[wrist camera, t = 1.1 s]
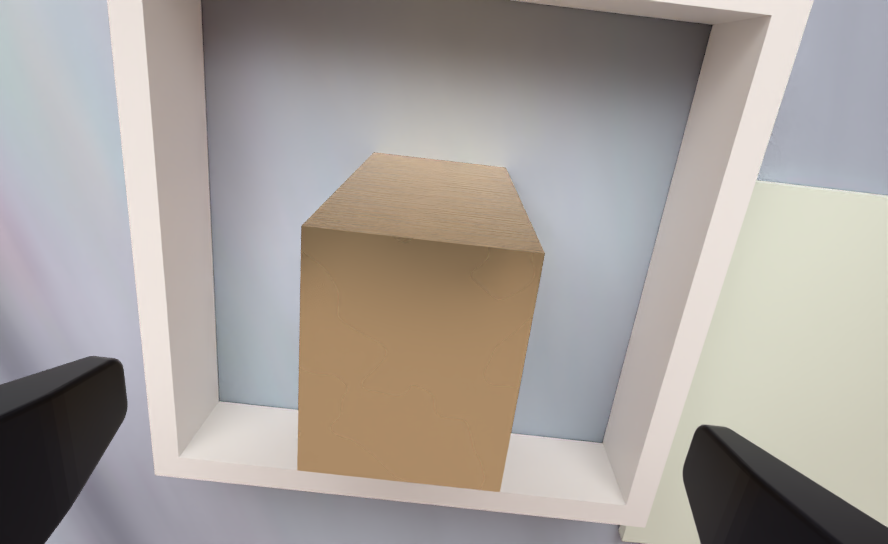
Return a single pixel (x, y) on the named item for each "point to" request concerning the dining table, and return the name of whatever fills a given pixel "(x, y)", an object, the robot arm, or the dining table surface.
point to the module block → (415, 323)
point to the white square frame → (529, 457)
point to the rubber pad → (795, 352)
